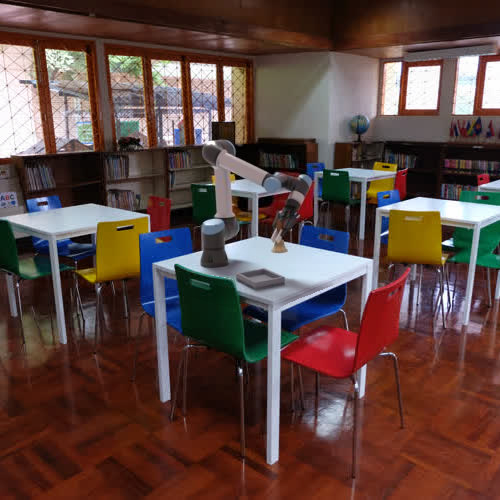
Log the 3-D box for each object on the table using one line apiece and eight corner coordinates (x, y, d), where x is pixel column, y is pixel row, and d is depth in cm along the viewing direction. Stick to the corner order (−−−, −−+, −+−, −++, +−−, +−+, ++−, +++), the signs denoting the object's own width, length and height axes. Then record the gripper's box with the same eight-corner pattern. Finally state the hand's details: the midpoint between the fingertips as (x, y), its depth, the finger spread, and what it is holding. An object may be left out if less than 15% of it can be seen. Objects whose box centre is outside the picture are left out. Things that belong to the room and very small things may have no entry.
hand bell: (278, 254, 239) (278, 221, 235) (267, 250, 245) (267, 219, 241) (291, 251, 244) (291, 219, 240) (280, 248, 250) (280, 216, 246)
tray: (236, 280, 239) (236, 273, 238) (264, 274, 247) (264, 268, 246) (255, 290, 224) (255, 282, 223) (284, 284, 232) (284, 277, 231)
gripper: (309, 208, 246) (290, 247, 238) (284, 205, 255) (265, 243, 247) (304, 199, 241) (284, 239, 233) (278, 196, 250) (258, 234, 242)
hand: (274, 241), depth 240 cm, fingers closed on hand bell, 2 cm apart
